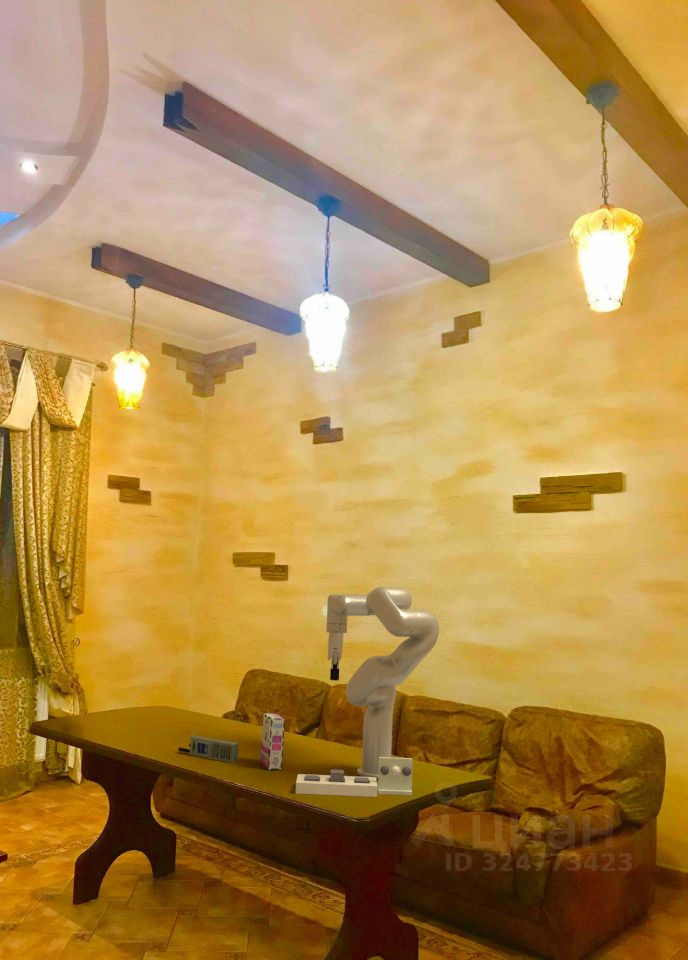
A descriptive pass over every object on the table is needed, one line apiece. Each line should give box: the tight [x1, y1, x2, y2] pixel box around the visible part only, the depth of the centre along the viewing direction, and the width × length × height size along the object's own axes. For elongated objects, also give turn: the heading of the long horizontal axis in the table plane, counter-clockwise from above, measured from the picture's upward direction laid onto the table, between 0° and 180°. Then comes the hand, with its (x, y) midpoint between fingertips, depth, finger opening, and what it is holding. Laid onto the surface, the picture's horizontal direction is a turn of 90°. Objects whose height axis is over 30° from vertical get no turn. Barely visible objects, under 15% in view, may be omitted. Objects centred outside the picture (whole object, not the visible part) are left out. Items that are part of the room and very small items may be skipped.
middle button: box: [330, 768, 345, 782], centre depth 215 cm, size 4×4×3 cm
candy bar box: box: [259, 712, 286, 771], centre depth 242 cm, size 11×5×16 cm, turn 21°
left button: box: [305, 774, 319, 781], centre depth 215 cm, size 4×4×3 cm
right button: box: [355, 776, 369, 783], centre depth 215 cm, size 4×4×3 cm
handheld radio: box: [177, 734, 240, 764], centre depth 250 cm, size 7×3×25 cm
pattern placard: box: [377, 756, 413, 796], centre depth 216 cm, size 10×4×10 cm, turn 90°
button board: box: [295, 773, 378, 798], centre depth 215 cm, size 24×10×3 cm, turn 90°
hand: (334, 680), depth 260 cm, fingers closed
